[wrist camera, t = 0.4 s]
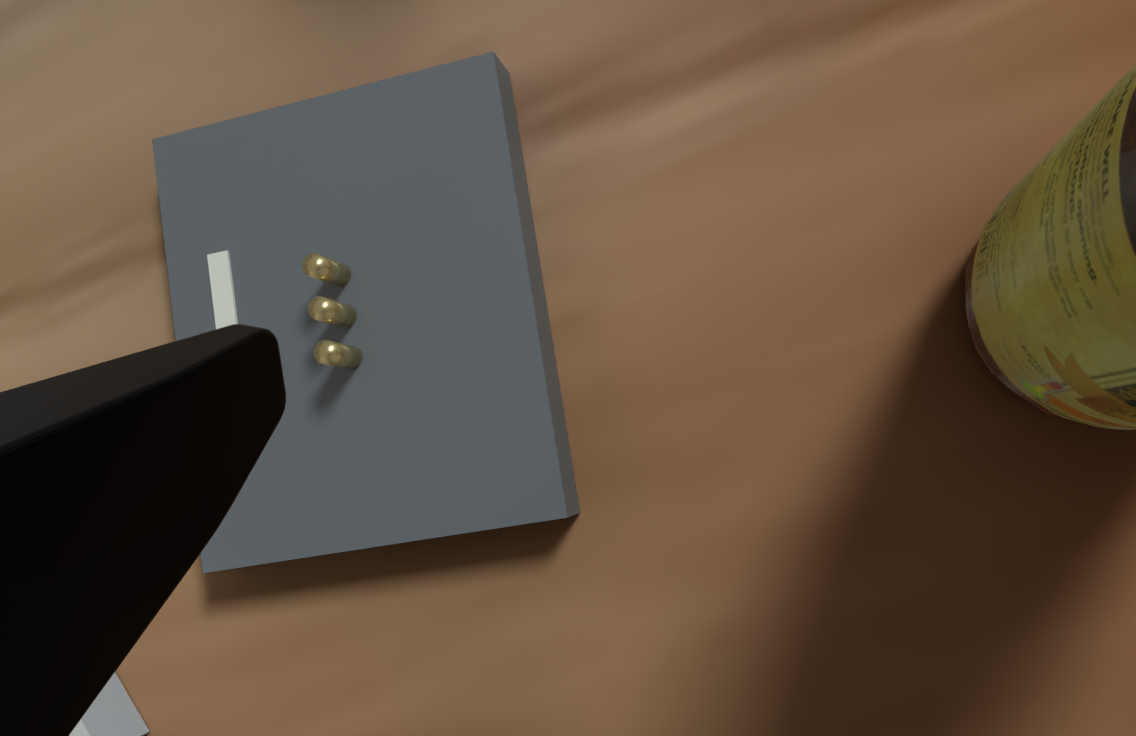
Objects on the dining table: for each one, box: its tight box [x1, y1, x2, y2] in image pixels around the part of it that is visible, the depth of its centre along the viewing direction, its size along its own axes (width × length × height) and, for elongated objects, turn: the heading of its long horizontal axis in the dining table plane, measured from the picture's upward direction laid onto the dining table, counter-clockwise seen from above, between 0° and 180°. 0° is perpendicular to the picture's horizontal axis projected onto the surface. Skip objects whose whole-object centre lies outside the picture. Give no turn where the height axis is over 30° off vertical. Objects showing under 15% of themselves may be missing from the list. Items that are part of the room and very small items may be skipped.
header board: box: [152, 52, 580, 573], centre depth 25 cm, size 12×10×3 cm
